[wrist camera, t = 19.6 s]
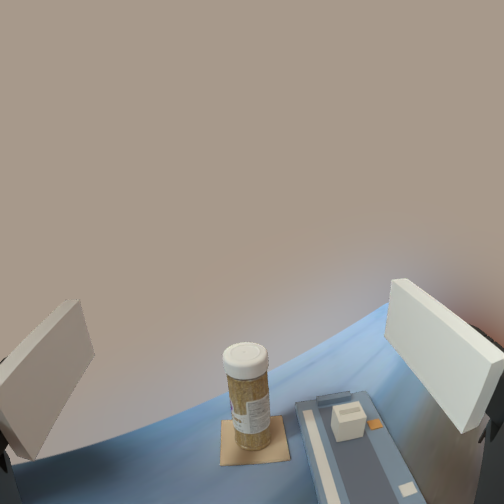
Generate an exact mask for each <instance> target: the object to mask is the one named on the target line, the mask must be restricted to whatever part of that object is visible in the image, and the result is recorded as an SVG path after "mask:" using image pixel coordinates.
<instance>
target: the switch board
mask: <svg viewBox="0 0 504 504" xmlns="http://www.w3.org/2000/svg"><path fill="white" fill-rule="evenodd" d="M356 401H359V402H360V404H361V406H362V408H363V410H364V412H365V414H366V416H367V419H366V424H365V429H364V434H363V437H359V438H355V439H350V440H346V441H341V442H336V439H335V436H334V433H333V431H332V428H331V418H332V408H333V406H336V405H341V404H346V403H351V402H356ZM295 410H296V414H297V418H298V422H299V426H300V430H301V434H302V438H303V442H304V446H305V451H306V455H307V459H308V463H309V467H310V471H311V475H312V479H313V483H314V487H315V491H316V495H317V499H318V503H319V504H427V503H426V501H425V499H424V497H423V496H422V494H421V492H420V490H419V488H418V486H417V484H416V482H415V480H414V478H413V476H412V474H411V473H410V471H409V469H408V467H407V465H406V463H405V461H404V459H403V458H402V456H401V454H400V452H399V450H398V448H397V446H396V445H395V443H394V441H393V439H392V437H391V435H390V434H389V432H388V430H387V428H386V426H385V424H384V423H383V421H382V419H381V417H380V415H379V414H378V412H377V410H376V408H375V406H374V405H373V403H372V401H371V399H370V397H369V396H368V394H367V392H366V391H361V392H356V393H350V391H346V392H341V393H335V394H329V395H323V396H317V397H316V400H310V401H303V402H296V406H295Z"/></svg>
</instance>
